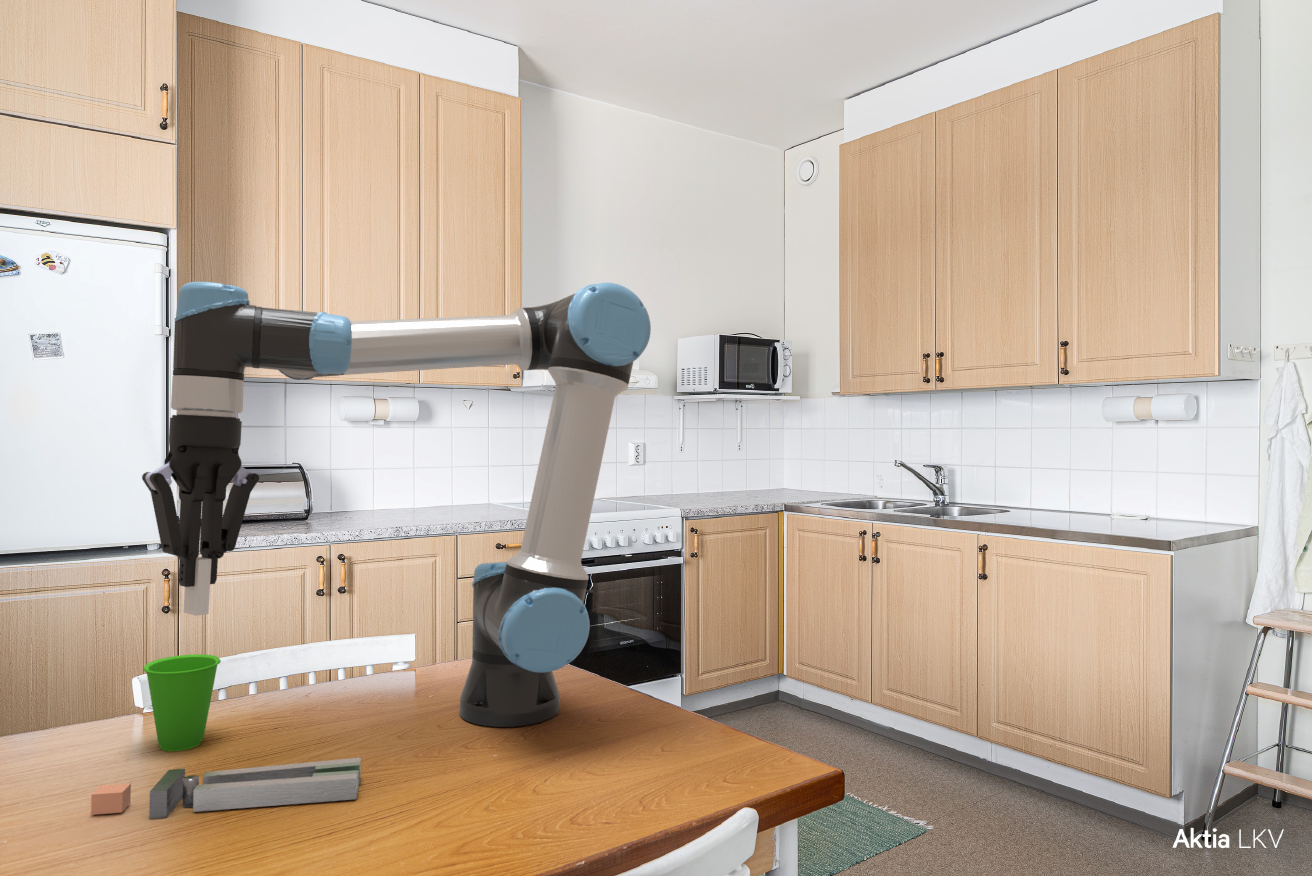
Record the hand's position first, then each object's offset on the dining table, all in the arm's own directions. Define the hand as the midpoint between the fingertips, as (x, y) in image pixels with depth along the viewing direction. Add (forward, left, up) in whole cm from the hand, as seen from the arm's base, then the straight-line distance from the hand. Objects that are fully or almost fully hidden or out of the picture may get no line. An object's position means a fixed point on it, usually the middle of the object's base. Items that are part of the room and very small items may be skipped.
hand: (196, 612), depth 98 cm
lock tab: (+7, +5, -21) cm, 22 cm away
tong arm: (-11, +3, -21) cm, 23 cm away
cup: (+6, -15, -21) cm, 26 cm away
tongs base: (-9, +5, -21) cm, 23 cm away
